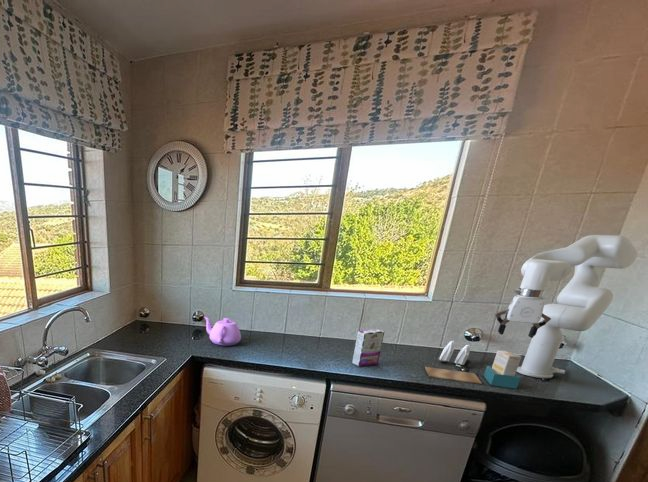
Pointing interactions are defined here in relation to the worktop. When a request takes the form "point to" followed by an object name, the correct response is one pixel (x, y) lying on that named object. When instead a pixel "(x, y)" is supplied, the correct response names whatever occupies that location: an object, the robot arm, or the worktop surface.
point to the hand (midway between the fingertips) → (515, 335)
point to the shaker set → (448, 353)
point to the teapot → (224, 332)
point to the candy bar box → (368, 347)
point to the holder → (501, 379)
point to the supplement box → (506, 363)
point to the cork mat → (453, 375)
